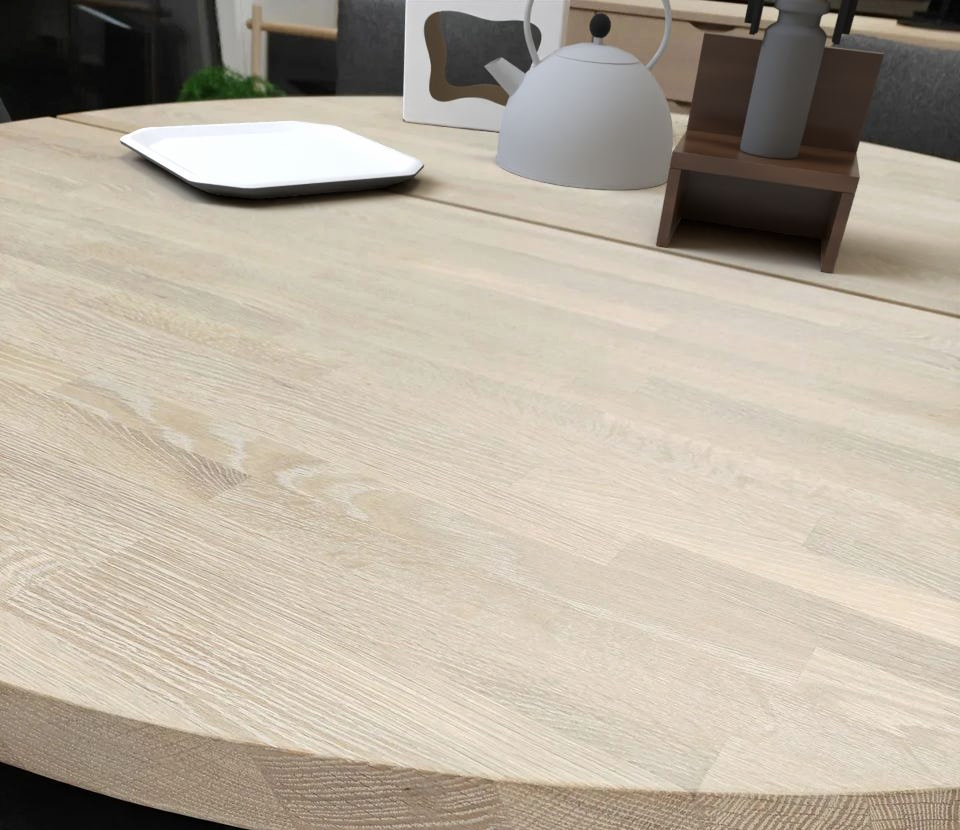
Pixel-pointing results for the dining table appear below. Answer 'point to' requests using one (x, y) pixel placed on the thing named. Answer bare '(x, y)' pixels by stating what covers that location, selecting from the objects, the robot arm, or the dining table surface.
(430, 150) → the dining table surface
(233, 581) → the dining table surface
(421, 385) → the dining table surface
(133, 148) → the plate
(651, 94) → the kettle
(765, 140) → the bottle
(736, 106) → the brown wooden stand
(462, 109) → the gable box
